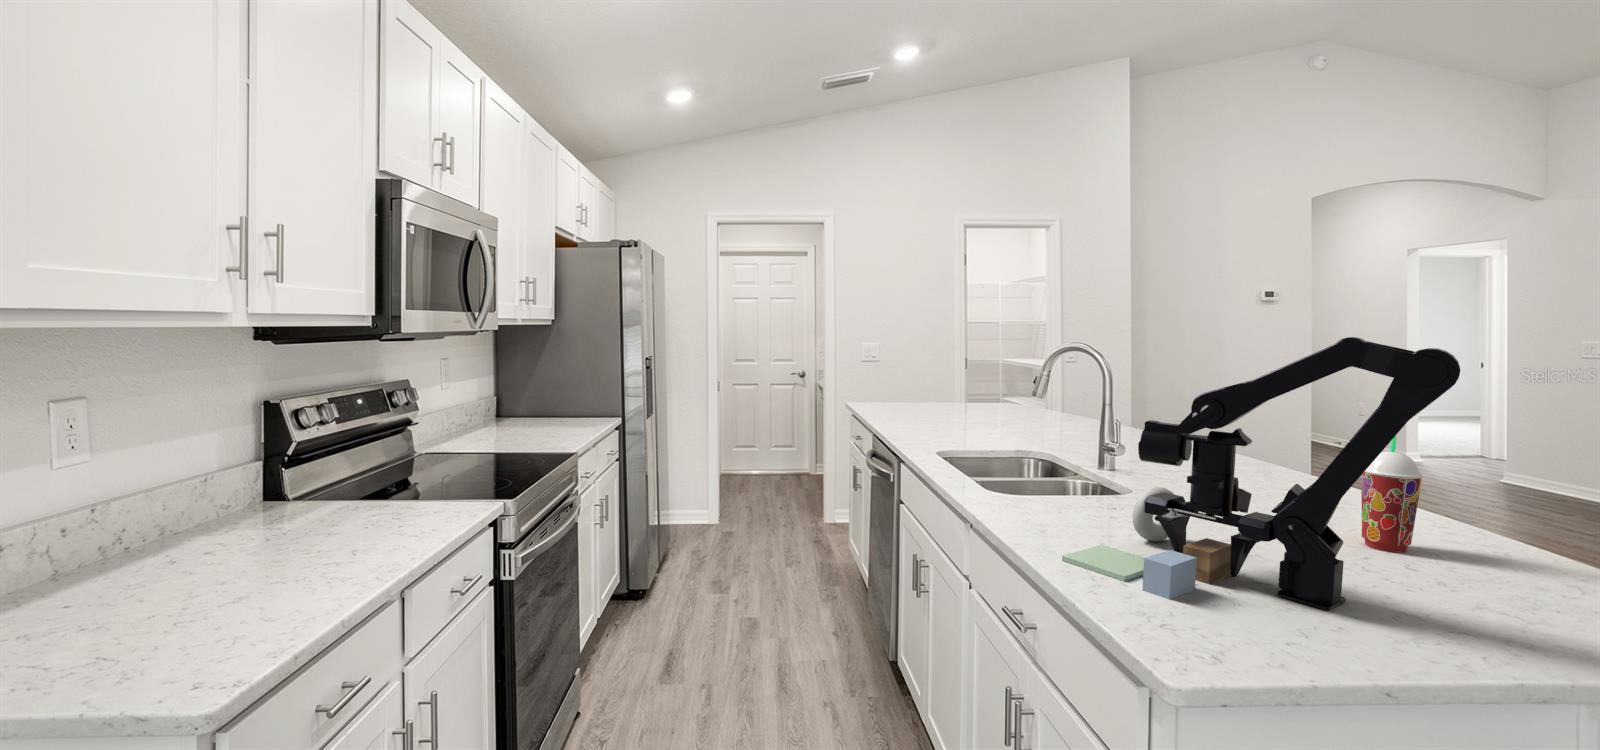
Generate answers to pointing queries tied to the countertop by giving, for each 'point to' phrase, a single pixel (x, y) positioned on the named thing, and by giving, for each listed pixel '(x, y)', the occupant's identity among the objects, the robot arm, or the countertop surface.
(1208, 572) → the walnut brick
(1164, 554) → the slate brick
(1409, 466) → the smoothie
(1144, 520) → the donut
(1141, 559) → the baseplate
